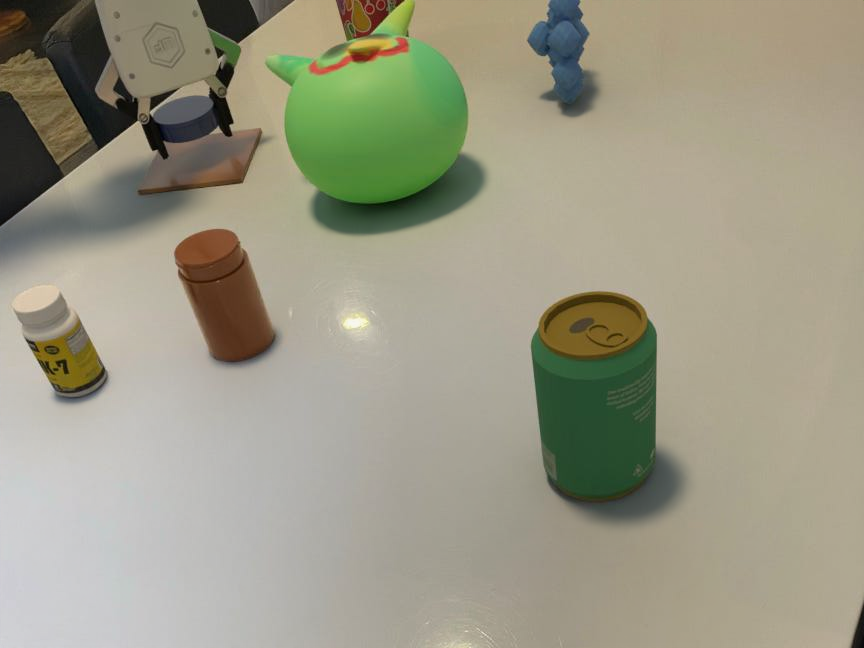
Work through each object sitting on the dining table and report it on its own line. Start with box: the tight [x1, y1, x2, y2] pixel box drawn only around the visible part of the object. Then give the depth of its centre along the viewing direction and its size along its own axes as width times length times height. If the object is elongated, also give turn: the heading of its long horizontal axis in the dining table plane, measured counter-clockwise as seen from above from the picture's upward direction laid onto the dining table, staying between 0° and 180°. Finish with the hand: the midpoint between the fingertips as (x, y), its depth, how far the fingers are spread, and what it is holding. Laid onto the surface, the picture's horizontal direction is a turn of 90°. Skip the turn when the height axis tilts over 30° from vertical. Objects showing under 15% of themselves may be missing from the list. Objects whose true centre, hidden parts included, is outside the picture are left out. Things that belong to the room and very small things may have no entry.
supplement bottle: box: [11, 284, 107, 398], centre depth 82 cm, size 5×5×8 cm
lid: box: [152, 94, 220, 143], centre depth 106 cm, size 7×7×2 cm
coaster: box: [137, 127, 263, 195], centre depth 109 cm, size 12×12×1 cm
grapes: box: [526, 0, 590, 105], centre depth 103 cm, size 12×7×12 cm, turn 175°
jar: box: [173, 228, 276, 362], centre depth 82 cm, size 6×6×9 cm
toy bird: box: [264, 0, 469, 205], centre depth 94 cm, size 18×17×15 cm
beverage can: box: [530, 290, 658, 502], centre depth 65 cm, size 8×8×12 cm
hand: (194, 142), depth 108 cm, fingers closed on lid, 6 cm apart
